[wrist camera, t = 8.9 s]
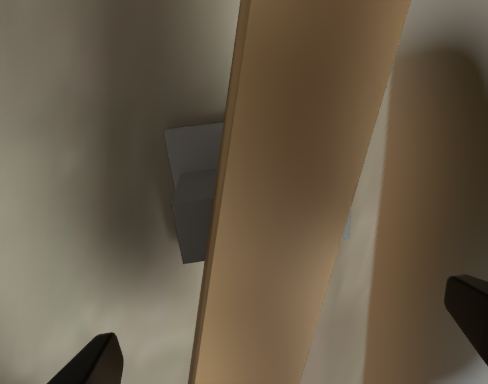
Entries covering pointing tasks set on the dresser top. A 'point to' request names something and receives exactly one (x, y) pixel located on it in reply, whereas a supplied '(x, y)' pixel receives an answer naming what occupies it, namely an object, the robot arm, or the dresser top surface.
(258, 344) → the plank
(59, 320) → the dresser top surface
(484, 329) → the robot arm
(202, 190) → the grey stepped block
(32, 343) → the dresser top surface
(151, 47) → the dresser top surface
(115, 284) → the dresser top surface
